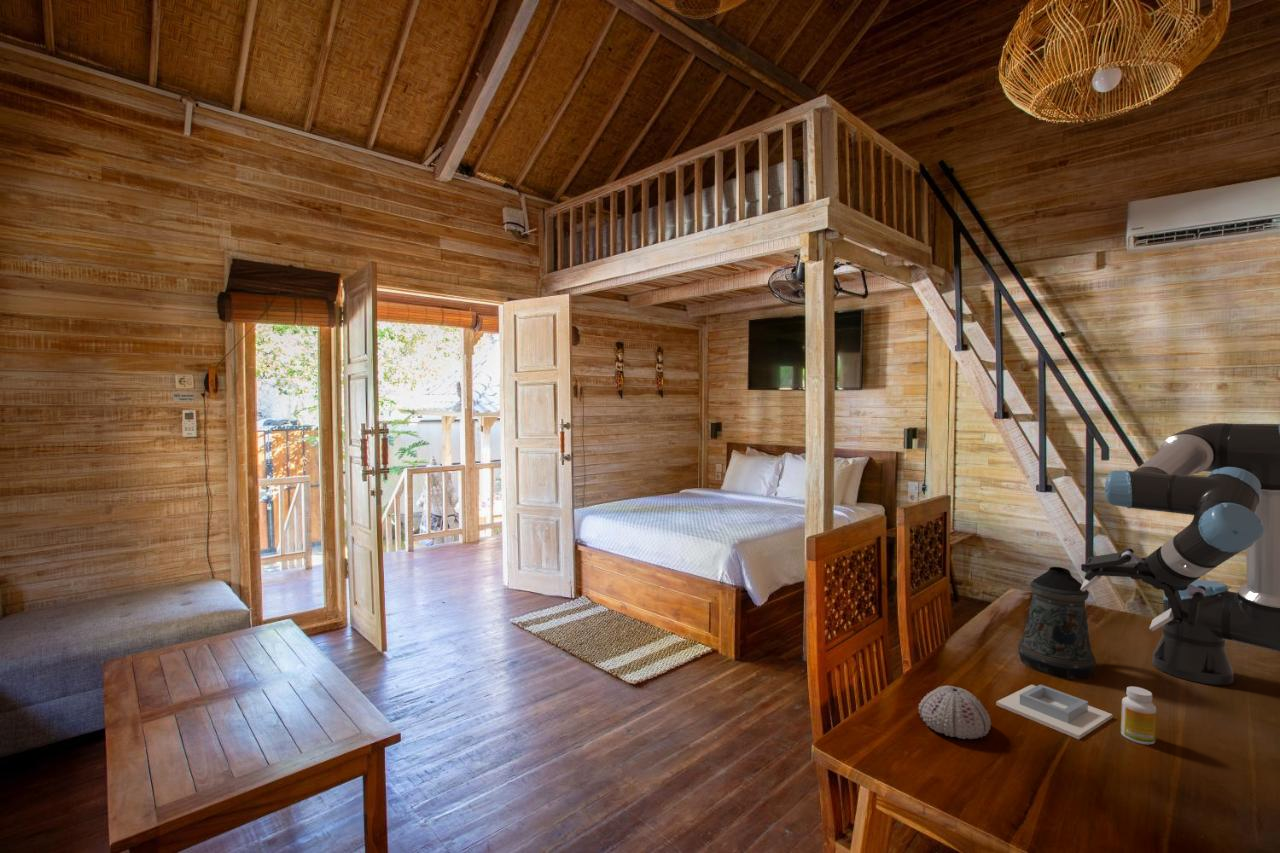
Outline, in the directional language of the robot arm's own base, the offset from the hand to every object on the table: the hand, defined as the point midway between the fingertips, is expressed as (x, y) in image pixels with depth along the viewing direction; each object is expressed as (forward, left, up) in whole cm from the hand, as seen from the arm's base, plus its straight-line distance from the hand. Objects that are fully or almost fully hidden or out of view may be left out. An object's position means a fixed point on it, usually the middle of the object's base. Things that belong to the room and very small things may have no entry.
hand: (1117, 605), depth 130 cm
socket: (+11, -7, -24) cm, 27 cm away
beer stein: (-17, -19, -24) cm, 35 cm away
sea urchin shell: (+36, -15, -24) cm, 46 cm away
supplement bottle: (+8, +7, -24) cm, 26 cm away
